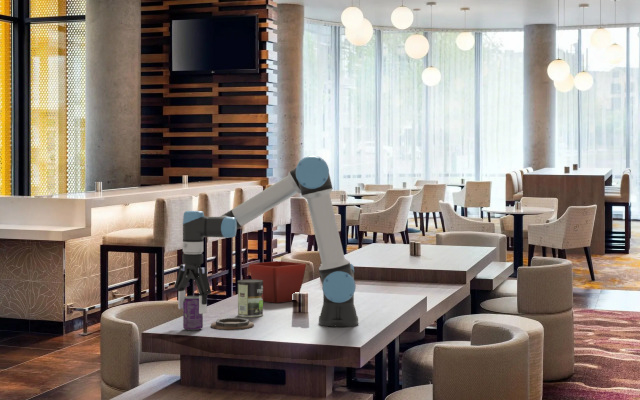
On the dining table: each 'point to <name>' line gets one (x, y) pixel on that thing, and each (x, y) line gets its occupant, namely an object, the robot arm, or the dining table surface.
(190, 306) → the beverage can
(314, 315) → the dining table surface
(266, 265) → the plant pot
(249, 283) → the coffee can
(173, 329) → the dining table surface
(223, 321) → the coaster
